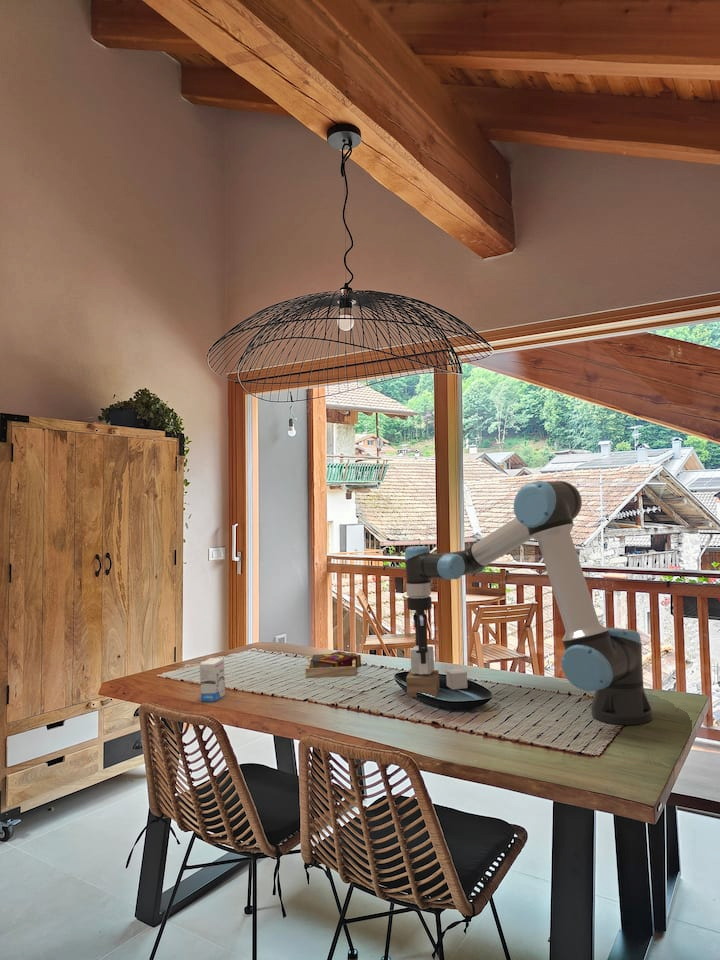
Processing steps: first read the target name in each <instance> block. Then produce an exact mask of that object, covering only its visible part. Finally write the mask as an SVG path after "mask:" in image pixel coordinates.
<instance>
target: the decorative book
mask: <svg viewBox="0 0 720 960" xmlns="http://www.w3.org/2000/svg"><path fill="white" fill-rule="evenodd" d="M350 653H351V652H346V651H341V650H339V651H335V652H332V653H329V654H330V655H323V657H320V658H314V659H311V662H313V667H312V668H325V667H348V666H352V662H353V660H355V659H356V668H358V667H360V666H362V655H361V654H357V653H356V654H350Z"/></svg>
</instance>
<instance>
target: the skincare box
mask: <svg viewBox="0 0 720 960" xmlns="http://www.w3.org/2000/svg"><path fill="white" fill-rule="evenodd" d="M427 649H428V651H427V659H428V674H431V672H432V671H433V670H435V659H434V657H435V656H434V646H433V645H432V646H429V645H427ZM418 650H419V648H418V646H416V645H414V646H413V647H412V648H411V649H410V670H411V673H412V674H419V661H418V653H416V651H418Z"/></svg>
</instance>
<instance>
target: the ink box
mask: <svg viewBox="0 0 720 960" xmlns="http://www.w3.org/2000/svg"><path fill="white" fill-rule="evenodd" d="M199 678H200V679H199V682H200V699H201V702H205V703H206V702H208V703H209V702H210V703H211V702H213V703H214V702H215V703H216V702H218V700H220V699H221V698H223V697H224V696H225V695H226V682H225V679H226V678H225V659H224V658H222V657H219V658H218V657H210V658H208V659H206V660H204V661H201V662H200V664H199Z"/></svg>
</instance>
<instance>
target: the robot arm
mask: <svg viewBox="0 0 720 960" xmlns="http://www.w3.org/2000/svg"><path fill="white" fill-rule="evenodd" d="M582 503H583V502H582V495H581V493H580V492H579V490H578V489H577V488H576V487H575V486H574V485H573V484H571V483H569V482H567V481H563V480H556V481H555V480H554V481H546V480H545V481H543V480H537V481H533V482H528V483H527V484H525V485H523V486H522V487H521V488H520V489H519V490H518V491H517V493H516V495H515V497H514V500H513V512H514V513H513V514H514V516H515V518H513V519H511V520H510V521H508V522H507V523H505V524H503V525H501V526H500V527H499V528H497V529H496V530H494V531H493V532H491V533H490V534H487V536H484V537H483V538H480V540H478V541H477V542H475V543H474V544H472V545H470V546H469V547H466V548H465V549H464V550H458V551H452V552H445V553H433V552H432V553H431V552H430V549H429V547H428V546H427V545H425V546H424V545H422V546H421V545H414V546H408V547H406V549H405V551H404V553H405V554H404V563H405V579H406V580H405V581H406V582H405V583H406V585H405V586H406V596H407V598H406V604H407V606H406V607H407V609H408V610H409V611H413V612H414V613H413V621H414V622H413V625H414V629H415V646H418V648H419V650H418V651H416V653H418V661H419V674H428V659H427V651H428V649H427V646H428V639H427V629H428V626H427V625H428V624H427V621H428V616H427V614H426V613H425V611H428V610H431V609H432V607H433V606H432V605H433V602H432V597H431V594H432V589H433V587H434V586H433V584H431V579H440V580H441V579H443V580H447V581H451V580H458V579H460V578H461V577H462V576H468V575H476V574H478V573H481V572H483V571H484V570H485V569H486V567H487V566H488V565H489V564H491V563H493V562H494V561H496V560H498V559H500V558H501V557H503V556H505V555H506V554H508V553H510V552H511V551H513V550H515V549H516V548H519V547H520V546H522V545H524V544H526V543H527V542H529V541H530V540H532V539H533V540H534V541H536V542H537V543H538V546H539V547H538V548H539V550H540V554H541V556H542V560H543V562H544V566H545V569H546V572H547V575H548V579H549V582H550V585H551V588H552V592H553V595H554V598H555V601H556V604H557V607H558V611H559V614H560V615H559V616H560V618H561V621H562V624H563V627H564V630H565V633H564V635H563V637H562V639H561V642H562V645H563V647H564V652H563V655H562V657H561V660H560V661H561V665H560V666H561V670H562V673H563V674H564V676H565V678H566V679H567V681H569V683H570V684H572V686H574V687H575V688H577V689H579V690H582V691H585V692H594V694H593V699H592V702H591V704H590V705H591V706H590V709H591V710H590V711H591V714H590V715H591V716H592V718H594V719H596V720H598V721H601V722H604V723H608V724H612V725H621V726H622V725H623V726H633V725H642V724H643V725H644V724H647V723H649V722H651V721H652V720H653V710H652V707H651V704H650V701H649V698H648V696H647V693H646V691H645V688H644V672H643V654H642V653H643V652H642V651H643V649H642V648H643V647H642V646H643V643H642V641H641V634H640V633H639V632H638V631H637V630H635V629H627V628H618V627H617V628H616V627H605V626H604V625H602V624H601V623H600V622H599V617H598V615H597V612H596V611H597V610H596V608H595V606H594V603H593V598H592V596H591V593H590V590H589V587H588V584H587V581H586V578H585V574H584V572H583V569H582V566H581V565H582V564H581V563H580V559H579V555H578V552H577V550H576V546H575V544H574V541H573V537H572V535H571V533H572V529H573V527H574V526H575V525H574V519H575V518H577V516H578V515H579V514H580V512H581V510H582V505H583V504H582Z"/></svg>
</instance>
